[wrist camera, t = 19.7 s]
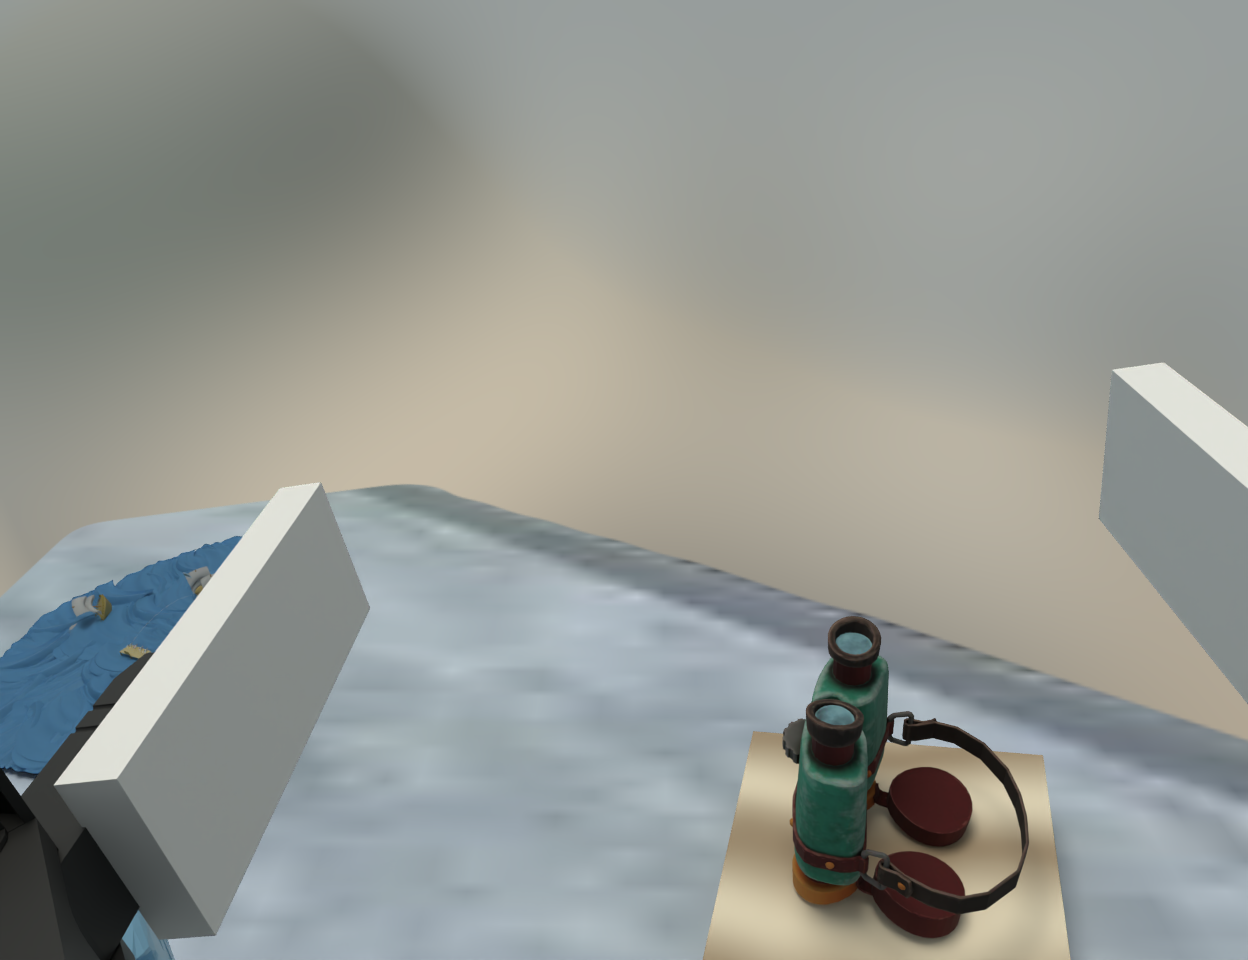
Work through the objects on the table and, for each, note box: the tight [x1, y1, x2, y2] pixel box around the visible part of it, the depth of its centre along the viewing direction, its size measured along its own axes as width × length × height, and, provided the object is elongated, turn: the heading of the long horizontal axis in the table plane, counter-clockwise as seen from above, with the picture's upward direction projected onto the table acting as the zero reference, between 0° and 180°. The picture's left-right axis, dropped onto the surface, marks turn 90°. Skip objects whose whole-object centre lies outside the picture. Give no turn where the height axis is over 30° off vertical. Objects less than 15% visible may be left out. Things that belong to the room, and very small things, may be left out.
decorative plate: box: [0, 536, 243, 774], centre depth 73 cm, size 30×30×5 cm
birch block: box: [703, 731, 1070, 960], centre depth 41 cm, size 14×14×5 cm
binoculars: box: [782, 616, 1029, 938], centre depth 37 cm, size 9×11×10 cm
